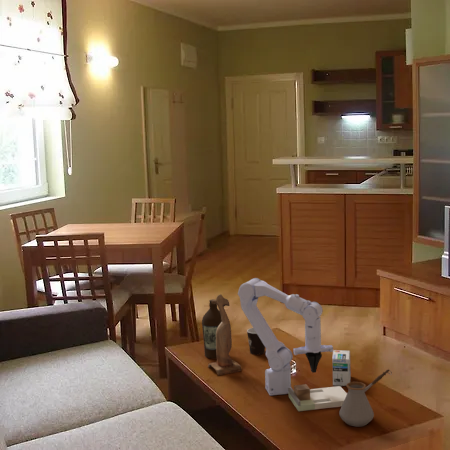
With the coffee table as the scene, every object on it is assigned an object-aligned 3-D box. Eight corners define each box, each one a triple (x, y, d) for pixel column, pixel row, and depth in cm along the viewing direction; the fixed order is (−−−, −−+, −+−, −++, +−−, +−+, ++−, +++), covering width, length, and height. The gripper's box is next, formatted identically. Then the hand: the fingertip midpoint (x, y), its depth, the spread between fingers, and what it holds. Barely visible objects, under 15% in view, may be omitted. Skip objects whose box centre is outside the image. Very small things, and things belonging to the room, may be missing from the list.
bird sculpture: (243, 371, 278) (242, 295, 274) (217, 376, 273) (216, 298, 269) (231, 363, 288) (229, 290, 284) (206, 368, 283) (204, 293, 279)
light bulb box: (350, 386, 257) (349, 359, 255) (332, 385, 258) (331, 358, 257) (350, 376, 267) (350, 350, 266) (333, 375, 269) (333, 349, 267)
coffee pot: (355, 432, 219) (354, 388, 217) (332, 419, 229) (331, 377, 227) (402, 415, 230) (402, 373, 228) (378, 404, 240) (378, 364, 238)
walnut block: (297, 401, 241) (297, 390, 240) (294, 396, 245) (293, 385, 245) (310, 399, 242) (309, 388, 241) (306, 394, 246) (306, 384, 245)
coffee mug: (267, 355, 295) (266, 333, 294) (247, 355, 295) (247, 333, 294) (266, 346, 307) (265, 325, 305) (247, 347, 307) (246, 325, 305)
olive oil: (207, 350, 304) (205, 296, 301) (230, 351, 301) (227, 297, 298) (200, 358, 294) (197, 303, 290) (223, 360, 291) (221, 303, 288)
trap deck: (298, 411, 237) (298, 401, 236) (288, 396, 250) (288, 387, 249) (352, 405, 240) (352, 395, 240) (340, 391, 253) (340, 382, 252)
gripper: (296, 341, 241) (297, 377, 243) (335, 337, 244) (335, 373, 246) (291, 335, 248) (292, 370, 250) (329, 331, 251) (329, 366, 253)
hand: (313, 371), depth 249 cm, fingers closed
